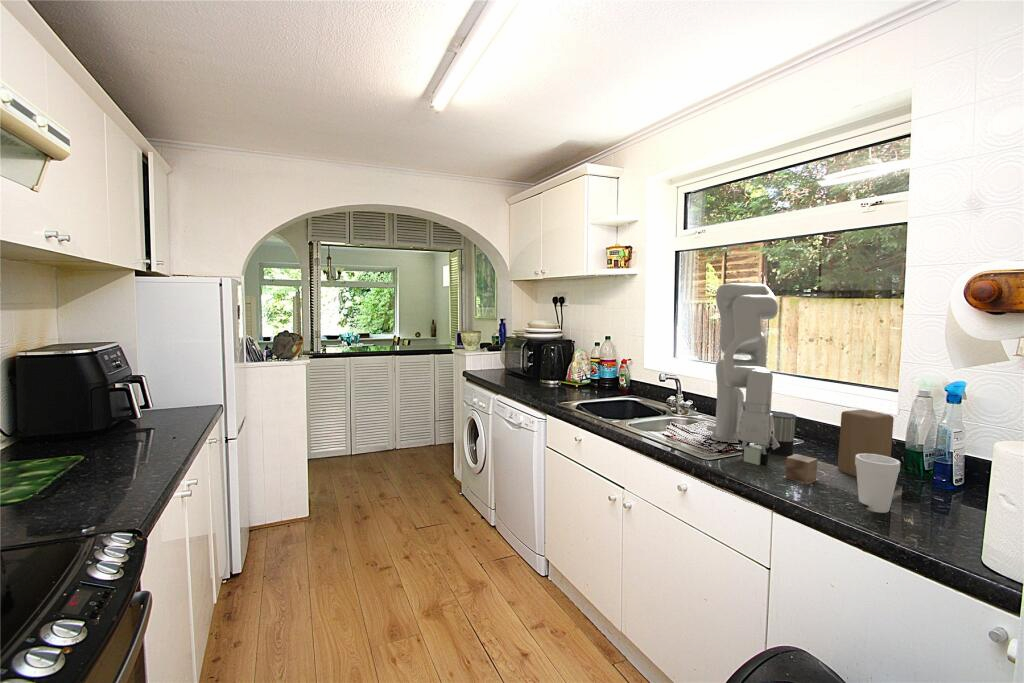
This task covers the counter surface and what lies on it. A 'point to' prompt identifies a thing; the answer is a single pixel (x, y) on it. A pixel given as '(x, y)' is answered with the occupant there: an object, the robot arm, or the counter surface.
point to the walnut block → (801, 468)
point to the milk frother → (783, 433)
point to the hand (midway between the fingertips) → (754, 462)
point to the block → (863, 437)
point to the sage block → (752, 454)
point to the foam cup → (876, 480)
